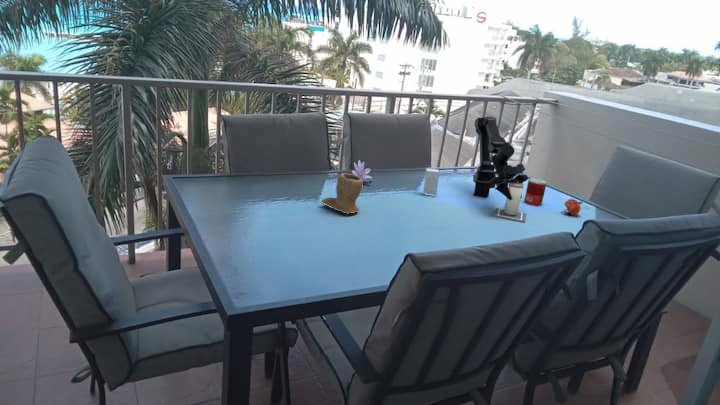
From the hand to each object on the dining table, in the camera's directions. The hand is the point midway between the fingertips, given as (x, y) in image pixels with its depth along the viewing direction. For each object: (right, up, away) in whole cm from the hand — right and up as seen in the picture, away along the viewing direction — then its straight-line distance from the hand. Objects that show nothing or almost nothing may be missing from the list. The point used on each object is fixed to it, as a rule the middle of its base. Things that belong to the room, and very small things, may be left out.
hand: (515, 199), depth 203 cm
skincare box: (-33, +2, +22) cm, 40 cm away
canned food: (+16, -2, +24) cm, 28 cm away
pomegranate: (+28, -7, +13) cm, 32 cm away
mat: (-1, -7, +4) cm, 8 cm away
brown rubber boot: (-73, -5, -7) cm, 73 cm away
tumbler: (-1, -6, +3) cm, 7 cm away
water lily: (-65, +7, +30) cm, 72 cm away
